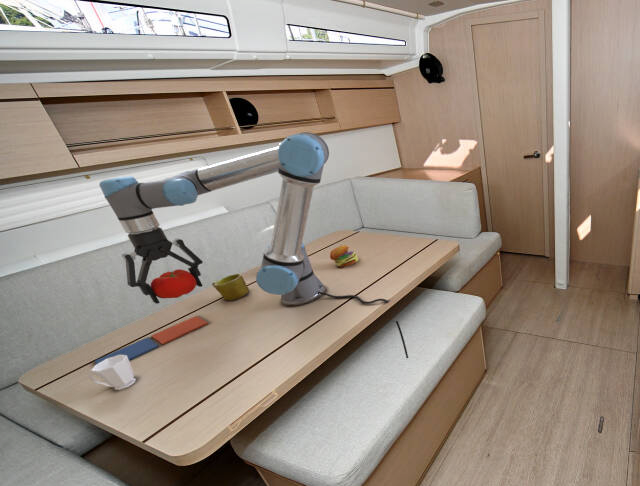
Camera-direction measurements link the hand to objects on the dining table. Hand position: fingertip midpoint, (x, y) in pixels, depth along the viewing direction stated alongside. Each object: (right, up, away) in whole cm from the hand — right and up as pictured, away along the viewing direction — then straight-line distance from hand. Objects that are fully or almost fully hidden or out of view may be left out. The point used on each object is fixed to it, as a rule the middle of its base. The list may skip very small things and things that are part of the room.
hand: (179, 293), depth 114 cm
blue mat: (-16, -20, 0) cm, 25 cm away
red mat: (-9, -14, +10) cm, 19 cm away
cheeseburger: (+30, +9, +52) cm, 61 cm away
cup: (-4, -25, -14) cm, 29 cm away
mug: (-7, -4, +31) cm, 32 cm away
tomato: (0, 0, 0) cm, 0 cm away
